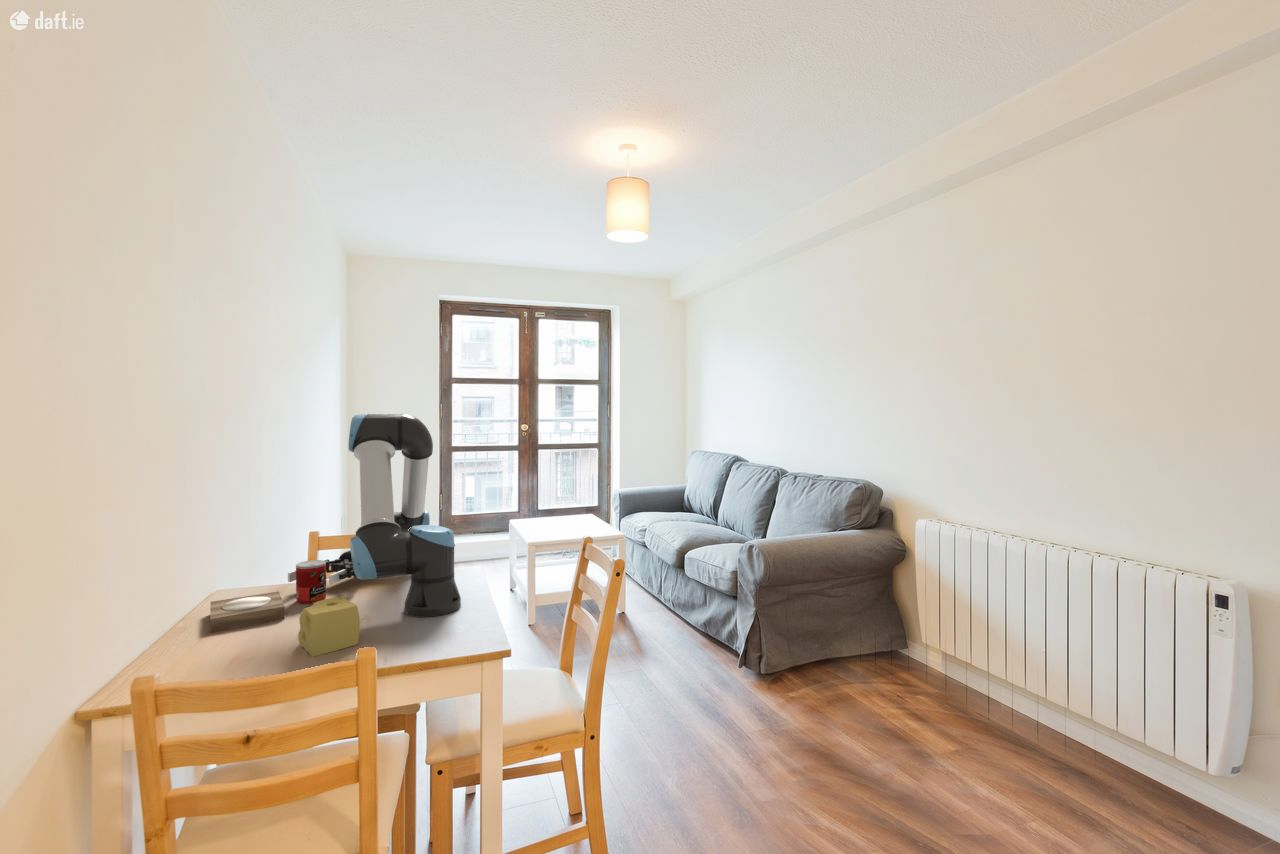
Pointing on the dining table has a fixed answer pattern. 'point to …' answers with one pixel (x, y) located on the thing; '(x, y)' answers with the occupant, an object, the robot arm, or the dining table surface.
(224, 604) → the stand
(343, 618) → the cheese
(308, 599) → the canned food
